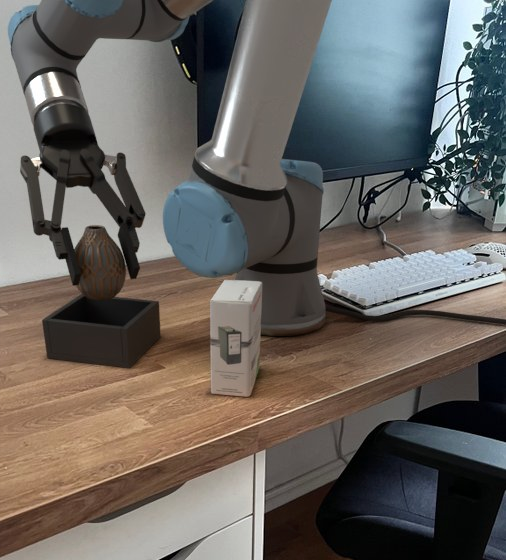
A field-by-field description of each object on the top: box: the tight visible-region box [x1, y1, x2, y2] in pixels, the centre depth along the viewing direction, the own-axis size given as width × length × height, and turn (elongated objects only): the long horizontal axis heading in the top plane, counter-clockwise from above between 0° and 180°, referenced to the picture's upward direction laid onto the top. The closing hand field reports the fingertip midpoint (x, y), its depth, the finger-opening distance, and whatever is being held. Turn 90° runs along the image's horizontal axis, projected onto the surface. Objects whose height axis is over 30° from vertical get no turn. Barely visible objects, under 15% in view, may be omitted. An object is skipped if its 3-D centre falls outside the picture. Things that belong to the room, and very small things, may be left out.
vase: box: [74, 224, 127, 300], centre depth 89 cm, size 7×7×9 cm
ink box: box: [209, 279, 262, 398], centre depth 83 cm, size 9×5×12 cm, turn 171°
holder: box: [41, 293, 162, 369], centre depth 93 cm, size 12×12×5 cm
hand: (106, 276), depth 86 cm, fingers closed on vase, 7 cm apart
